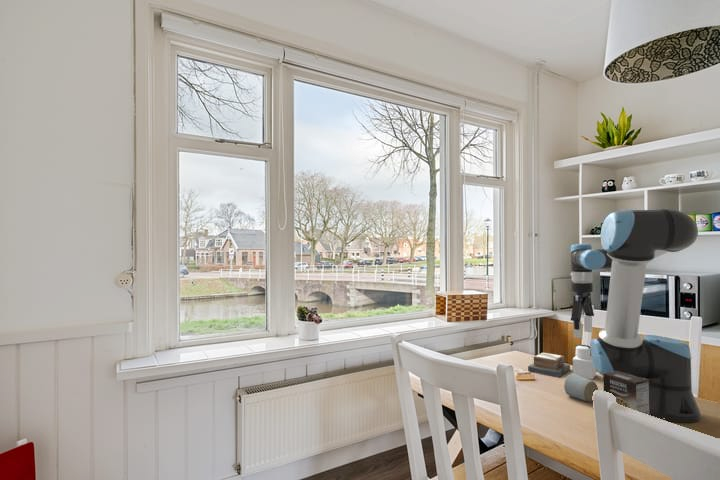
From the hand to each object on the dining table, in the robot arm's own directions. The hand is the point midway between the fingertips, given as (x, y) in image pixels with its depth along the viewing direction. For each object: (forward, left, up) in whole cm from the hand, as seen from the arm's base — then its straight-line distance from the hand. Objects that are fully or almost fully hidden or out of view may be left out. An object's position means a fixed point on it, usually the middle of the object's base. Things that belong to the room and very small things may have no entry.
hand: (583, 334), depth 163 cm
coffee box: (-47, -24, -17) cm, 56 cm away
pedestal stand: (-2, +13, -16) cm, 21 cm away
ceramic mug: (-26, -7, -17) cm, 32 cm away
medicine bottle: (0, 0, -17) cm, 17 cm away
